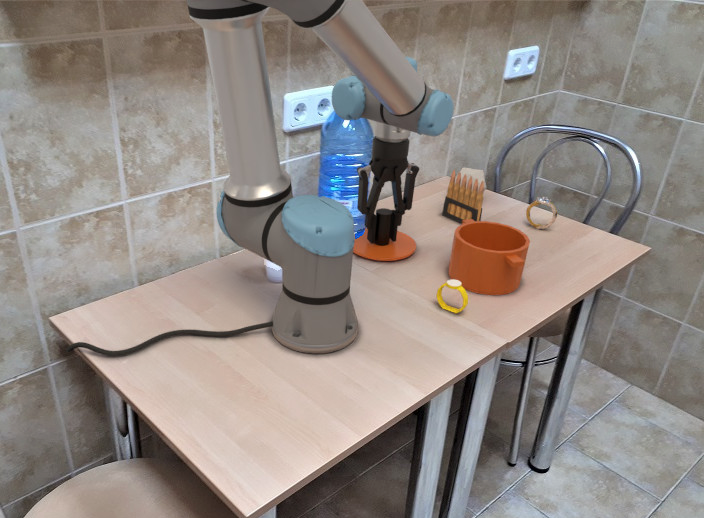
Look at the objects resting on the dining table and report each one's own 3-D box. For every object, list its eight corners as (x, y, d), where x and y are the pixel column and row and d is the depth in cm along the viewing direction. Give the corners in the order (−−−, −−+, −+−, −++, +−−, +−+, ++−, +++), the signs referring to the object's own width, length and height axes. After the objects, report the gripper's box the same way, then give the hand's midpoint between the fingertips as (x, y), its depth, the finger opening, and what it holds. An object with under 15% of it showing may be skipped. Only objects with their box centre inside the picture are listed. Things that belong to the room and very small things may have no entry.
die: (487, 199, 167) (475, 164, 167) (494, 194, 159) (482, 158, 158) (457, 210, 168) (445, 175, 168) (463, 206, 159) (450, 169, 159)
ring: (521, 226, 151) (528, 195, 147) (527, 222, 153) (534, 192, 149) (549, 234, 147) (557, 203, 143) (554, 230, 150) (562, 199, 145)
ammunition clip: (479, 228, 149) (488, 181, 143) (474, 229, 148) (483, 182, 142) (446, 213, 156) (453, 168, 150) (441, 214, 155) (448, 169, 149)
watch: (467, 313, 116) (473, 285, 113) (460, 318, 114) (465, 291, 111) (440, 301, 119) (444, 274, 116) (432, 306, 117) (437, 279, 114)
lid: (360, 266, 130) (363, 229, 126) (337, 235, 143) (339, 200, 138) (427, 259, 134) (432, 222, 130) (398, 229, 147) (402, 195, 142)
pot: (476, 306, 118) (485, 262, 113) (431, 259, 134) (436, 219, 129) (541, 297, 122) (553, 254, 117) (489, 252, 138) (497, 213, 133)
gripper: (357, 145, 120) (350, 251, 132) (438, 140, 125) (424, 243, 137) (345, 134, 126) (339, 236, 138) (422, 129, 131) (410, 229, 143)
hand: (381, 239), depth 138 cm, fingers open, 4 cm apart
